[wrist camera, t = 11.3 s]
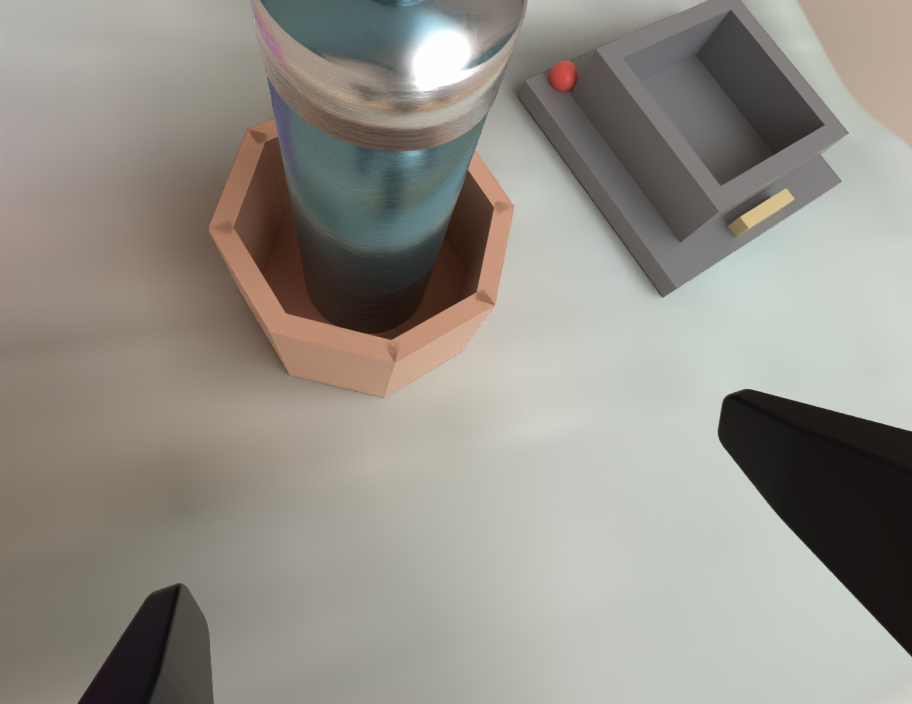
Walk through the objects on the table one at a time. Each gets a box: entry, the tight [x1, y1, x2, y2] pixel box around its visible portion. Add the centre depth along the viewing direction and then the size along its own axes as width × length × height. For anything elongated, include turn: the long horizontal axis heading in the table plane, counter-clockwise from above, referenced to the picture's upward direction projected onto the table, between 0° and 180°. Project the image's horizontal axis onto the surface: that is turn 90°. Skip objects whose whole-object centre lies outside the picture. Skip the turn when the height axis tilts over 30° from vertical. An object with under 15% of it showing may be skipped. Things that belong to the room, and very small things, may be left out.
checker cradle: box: [518, 0, 849, 297], centre depth 24 cm, size 11×11×4 cm
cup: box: [208, 118, 514, 398], centre depth 18 cm, size 8×8×5 cm
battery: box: [250, 0, 527, 334], centre depth 14 cm, size 4×4×13 cm
